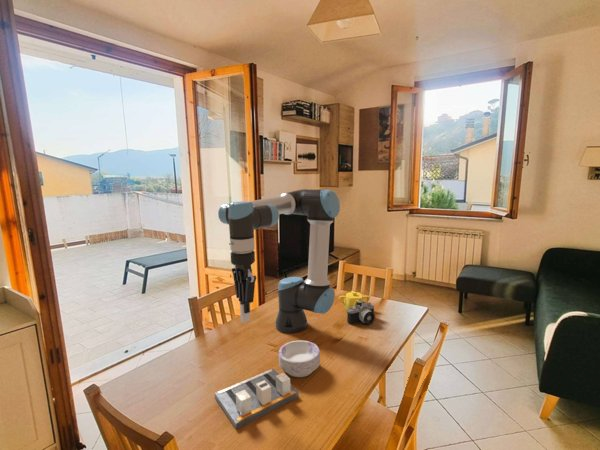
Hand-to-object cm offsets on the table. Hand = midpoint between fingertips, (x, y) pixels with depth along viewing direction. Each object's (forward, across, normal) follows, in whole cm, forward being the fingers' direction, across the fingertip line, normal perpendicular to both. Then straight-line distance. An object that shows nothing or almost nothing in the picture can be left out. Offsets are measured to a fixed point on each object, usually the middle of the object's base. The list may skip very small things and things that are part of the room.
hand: (245, 320), depth 105 cm
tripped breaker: (+22, +11, 0) cm, 25 cm away
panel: (+24, +6, 0) cm, 25 cm away
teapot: (+25, -22, +73) cm, 80 cm away
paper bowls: (+25, +2, +20) cm, 32 cm away
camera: (+25, -10, +66) cm, 72 cm away
